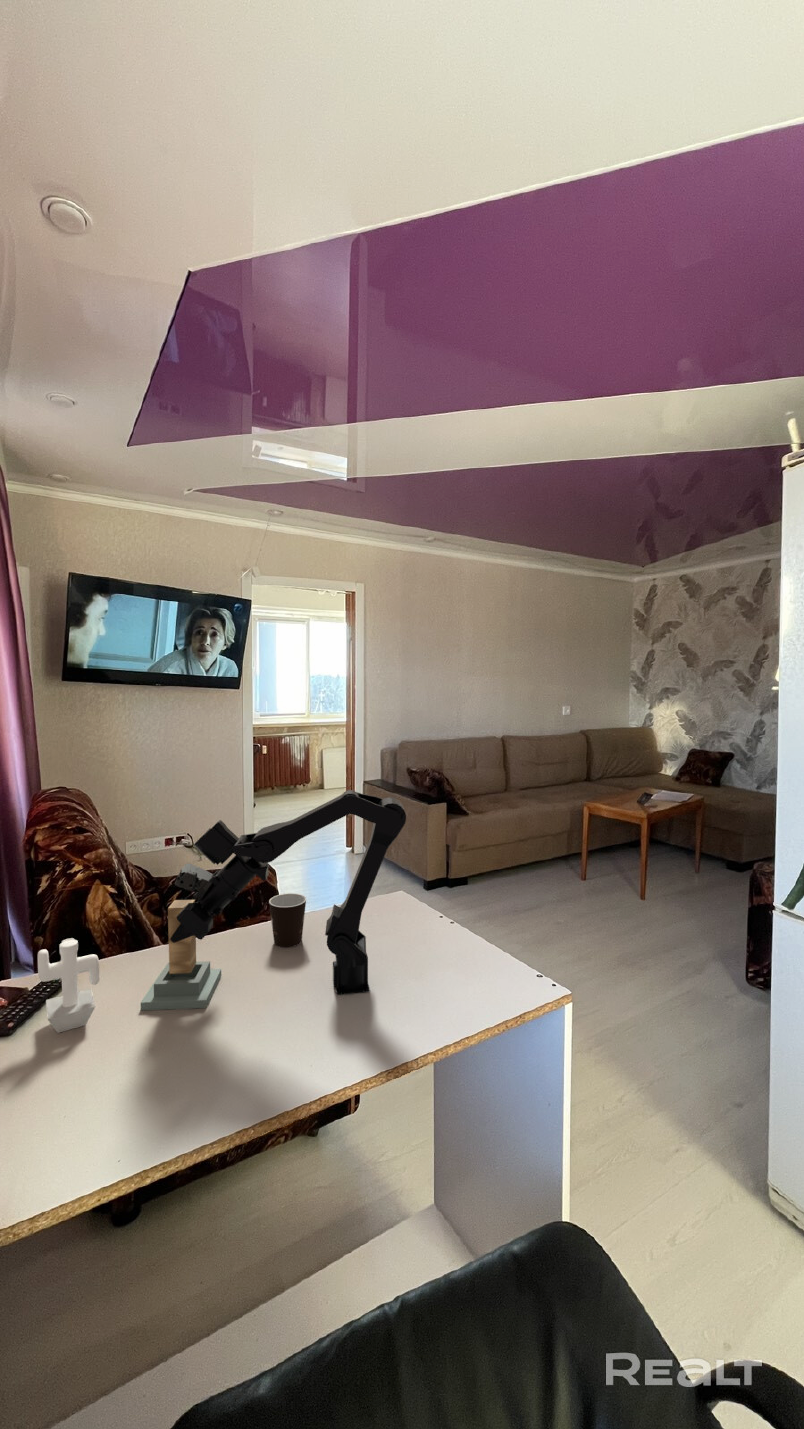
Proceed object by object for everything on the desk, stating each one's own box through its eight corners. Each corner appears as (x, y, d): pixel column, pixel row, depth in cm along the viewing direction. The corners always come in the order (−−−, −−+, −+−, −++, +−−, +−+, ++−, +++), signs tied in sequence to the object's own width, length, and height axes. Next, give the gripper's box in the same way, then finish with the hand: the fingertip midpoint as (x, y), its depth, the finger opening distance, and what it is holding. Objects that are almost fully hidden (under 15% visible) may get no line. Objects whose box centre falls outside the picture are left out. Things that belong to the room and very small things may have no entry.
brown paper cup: (298, 951, 131) (298, 908, 130) (263, 947, 132) (262, 905, 132) (316, 929, 142) (315, 890, 142) (283, 926, 144) (283, 887, 143)
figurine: (102, 1024, 103) (100, 942, 102) (40, 1042, 97) (37, 956, 97) (98, 1005, 109) (96, 928, 108) (39, 1021, 103) (36, 940, 103)
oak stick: (196, 962, 115) (195, 899, 115) (190, 972, 111) (189, 907, 111) (175, 963, 115) (174, 900, 114) (169, 973, 111) (167, 908, 110)
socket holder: (221, 975, 120) (221, 956, 120) (206, 1007, 108) (206, 987, 108) (162, 977, 119) (162, 958, 119) (140, 1010, 107) (140, 989, 107)
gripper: (213, 838, 122) (161, 891, 121) (187, 867, 103) (125, 928, 103) (251, 874, 123) (199, 926, 122) (232, 908, 104) (171, 970, 104)
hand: (175, 935), depth 113 cm, fingers closed on oak stick, 4 cm apart
